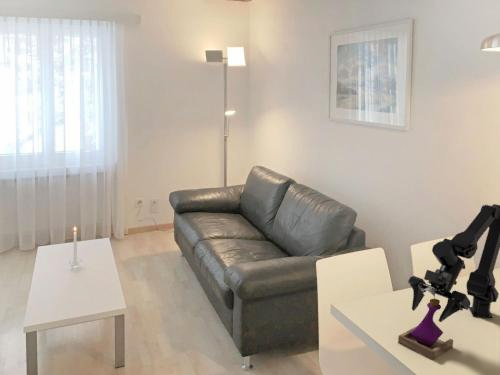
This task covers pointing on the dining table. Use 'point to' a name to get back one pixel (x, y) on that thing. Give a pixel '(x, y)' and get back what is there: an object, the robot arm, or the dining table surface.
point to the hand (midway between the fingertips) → (425, 315)
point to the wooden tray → (429, 352)
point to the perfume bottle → (428, 324)
